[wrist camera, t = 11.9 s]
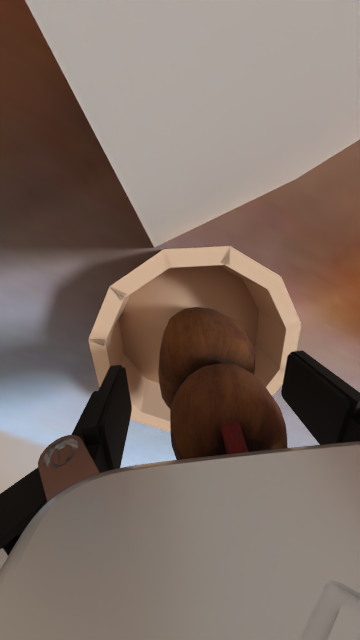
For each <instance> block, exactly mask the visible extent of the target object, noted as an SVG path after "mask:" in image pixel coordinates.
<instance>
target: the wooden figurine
mask: <svg viewBox="0 0 360 640" xmlns="http://www.w3.org/2000/svg"><path fill="white" fill-rule="evenodd" d="M254 373H255V352H254V348H253V344H252V343H251V341H250V339H249V338H248V336H247V335H246V333H245V331H244V330H243V329H242V327H241V326H240V325H239V324H238V323H237V322H236V321H235V320H233V319H232V318H230V317H228V316H226V315H224V314H222V313H220V312H218V311H216V310H213V309H209V308H201V307H193V308H185V309H183V310H181V311H180V312H178V313H177V314H175V315H174V316H172V317H171V318H170V319H169V321H168V324H167V326H166V329H165V331H164V334H163V338H162V342H161V347H160V355H159V369H158V375H159V384H160V390H161V395H162V398H163V400H164V402H165V403H166V405H167V406H168V407H169V409H170V428H171V442H172V447H173V450H174V453H175V456H176V459H177V460H182V459H191V458H200V457H209V456H218V455H227V454H236V453H246V452H255V451H265V450H275V449H284V448H287V433H286V426H285V422H284V419H283V416H282V413H281V410H280V408H279V406H278V405H277V403H276V402H275V400H274V398H273V397H272V395H271V394H270V393H269V391H268V390H267V388H266V387H265V386H264V384H263V383H262V382H261V381H260V380H259V379H258V378H257V377H256V376H255V375H254Z"/></svg>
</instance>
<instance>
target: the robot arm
mask: <svg viewBox="0 0 360 640" xmlns="http://www.w3.org/2000/svg"><path fill="white" fill-rule="evenodd" d="M281 393H282V397H283V399H284V400H285V401H286V402H287V404H288V405H289V406H290V407H291V409H292V410H293V411H294V412H295V414H296V415H297V416H298V417H299V419H300V420H301V421H302V423H303V424H304V425H305V426H306V428H307V429H308V430H309V431H310V433H311V434H312V435H313V436H314V438H315V439H316V440H317V441H318V443H319V444H320V445H315V446H304V447H294V448H284V449H275V450H265V451H255V452H246V453H236V454H227V455H218V456H209V457H200V458H191V459H182V460H173V461H165V462H157V463H149V464H142V465H134V466H129V467H123V468H120V465H121V460H122V455H123V451H124V446H125V441H126V436H127V431H128V426H129V422H130V417H131V412H132V404H131V398H130V392H129V386H128V380H127V374H126V369H125V367H122V366H121V365H112V366H110V367H109V369H108V371H107V374H106V376H105V378H104V380H103V382H102V384H101V386H100V388H99V391H95V392H93V394H92V395H91V397H90V399H89V401H88V403H87V405H86V407H85V409H84V411H83V413H82V415H81V417H80V419H79V421H78V423H77V425H76V427H75V429H74V431H73V433H72V435H67V436H64V437H61V438H59V439H57V440H55V441H54V442H53V443H51V444H50V445H49V446H48V447H47V448H46V449H45V450H44V451H43V453H42V454H41V456H40V458H39V461H38V468H37V469H35V470H34V471H32V472H31V473H30V474H28V475H27V476H25V477H24V478H22V479H21V480H19V481H18V482H17V483H15V484H14V485H12V486H11V487H10V488H8V489H7V490H5V491H4V492H2V493H1V494H0V640H360V393H359V392H358V391H357V390H355V389H354V388H353V387H351V386H350V385H349V384H347V383H346V382H344V381H343V380H342V379H340V378H339V377H338V376H336V375H335V374H334V373H332V372H331V371H330V370H328V369H327V368H325V367H324V366H323V365H321V364H320V363H319V362H317V361H316V360H315V359H313V358H312V357H311V356H309V355H308V354H306V353H305V352H304V351H293V352H291V353H290V354H289V355H288V356H287V362H286V368H285V374H284V379H283V385H282V391H281Z"/></svg>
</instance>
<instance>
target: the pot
mask: <svg viewBox="0 0 360 640" xmlns="http://www.w3.org/2000/svg"><path fill="white" fill-rule="evenodd" d="M193 307H201V308H209V309H213V310H216V311H218V312H220V313H222V314H224V315H226V316H228V317H230V318H232V319H233V320H235V321H236V322H237V323H238V324H239V325H240V326H241V327H242V329H243V330H244V331H245V333H246V335H247V336H248V338H249V339H250V341H251V343H252V344H253V348H254V352H255V373H254V375H255V376H256V377H257V378H258V379H259V380H260V381H261V382H262V383H263V384H264V386H265V387H266V388H267V390H268V391H269V393H270V394H271V395H272V396H273V395H274V394H275V392H276V391H277V390H278V389H279V387H280V386H281V385H282V384H283V379H284V374H285V368H286V362H287V356H288V355H289V354H290V353H291V352H293V351H296V350H297V344H298V339H299V334H300V329H301V322H300V320H299V318H298V315H297V313H296V311H295V308H294V306H293V303H292V301H291V299H290V296H289V294H288V292H287V289H286V287H285V285H284V282H283V280H282V278H281V276H279V275H277V274H276V273H274V272H272V271H271V270H269V269H267V268H266V267H264V266H262V265H261V264H259V263H257V262H256V261H254V260H252V259H251V258H249V257H247V256H246V255H244V254H242V253H241V252H239V251H237V250H236V249H234V248H232V247H231V246H217V247H199V248H178V249H163V250H162V251H160V252H159V253H157V254H156V255H154V256H153V257H152V258H150V259H149V260H147V261H146V262H144V263H143V264H141V265H140V266H139V267H137V268H136V269H134V270H133V271H131V272H130V273H128V274H127V275H125V276H124V277H122V278H121V279H119V280H118V281H117V282H115V283H114V284H112V285H111V286H110V287H109V289H108V292H107V294H106V297H105V299H104V302H103V304H102V307H101V309H100V312H99V314H98V316H97V319H96V321H95V324H94V326H93V329H92V331H91V334H90V336H89V339H88V341H89V345H90V350H91V354H92V358H93V362H94V367H95V371H96V375H97V380H98V384H99V388H100V386H101V384H102V382H103V380H104V378H105V376H106V374H107V371H108V369H109V367H110V366H112V365H121V366H122V367H125V369H126V374H127V380H128V386H129V392H130V398H131V404H132V412H131V417H130V418H131V419H132V420H133V421H136V422H139V423H143V424H146V425H149V426H152V427H155V428H159V429H162V430H165V431H168V432H171V428H170V409H169V407H168V406H167V405H166V403H165V402H164V400H163V398H162V395H161V390H160V384H159V375H158V369H159V355H160V347H161V342H162V338H163V334H164V331H165V329H166V326H167V324H168V321H169V319H170V318H171V317H172V316H174V315H175V314H177V313H178V312H180V311H181V310H183V309H185V308H193Z"/></svg>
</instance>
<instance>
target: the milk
mask: <svg viewBox="0 0 360 640" xmlns="http://www.w3.org/2000/svg"><path fill="white" fill-rule="evenodd" d="M25 1H26V3H27V5H28V7H29V9H30V11H31V13H32V15H33V16H34V18H35V20H36V22H37V24H38V26H39V28H40V30H41V32H42V34H43V36H44V37H45V39H46V41H47V43H48V45H49V47H50V49H51V51H52V53H53V55H54V57H55V59H56V60H57V62H58V64H59V66H60V68H61V70H62V72H63V74H64V76H65V78H66V80H67V81H68V83H69V85H70V87H71V89H72V91H73V93H74V95H75V97H76V99H77V101H78V102H79V104H80V106H81V108H82V110H83V112H84V114H85V116H86V118H87V120H88V122H89V124H90V125H91V127H92V129H93V131H94V133H95V135H96V137H97V139H98V141H99V143H100V145H101V146H102V148H103V150H104V152H105V154H106V156H107V158H108V160H109V162H110V164H111V166H112V168H113V169H114V171H115V173H116V175H117V177H118V179H119V181H120V183H121V185H122V187H123V189H124V190H125V192H126V194H127V196H128V198H129V200H130V202H131V204H132V206H133V208H134V210H135V211H136V213H137V215H138V217H139V219H140V221H141V223H142V225H143V227H144V229H145V231H146V233H147V234H148V236H149V238H150V240H151V242H152V244H153V246H154V247H156V246H159V245H161V244H163V243H165V242H167V241H169V240H171V239H173V238H175V237H177V236H179V235H181V234H183V233H185V232H187V231H189V230H192V229H194V228H196V227H198V226H200V225H202V224H204V223H206V222H208V221H210V220H212V219H214V218H216V217H218V216H220V215H222V214H224V213H227V212H229V211H231V210H233V209H235V208H237V207H239V206H241V205H243V204H245V203H247V202H249V201H251V200H253V199H255V198H257V197H260V196H262V195H264V194H266V193H268V192H270V191H272V190H274V189H276V188H278V187H280V186H282V185H284V184H286V183H288V182H290V181H293V180H295V179H297V178H298V177H300V176H301V175H303V174H305V173H306V172H308V171H309V170H311V169H313V168H314V167H316V166H318V165H319V164H321V163H322V162H324V161H326V160H327V159H329V158H330V157H332V156H334V155H335V154H337V153H338V152H340V151H342V150H343V149H345V148H346V147H348V146H350V145H351V144H353V143H354V142H356V141H358V140H359V139H360V0H25Z"/></svg>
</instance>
